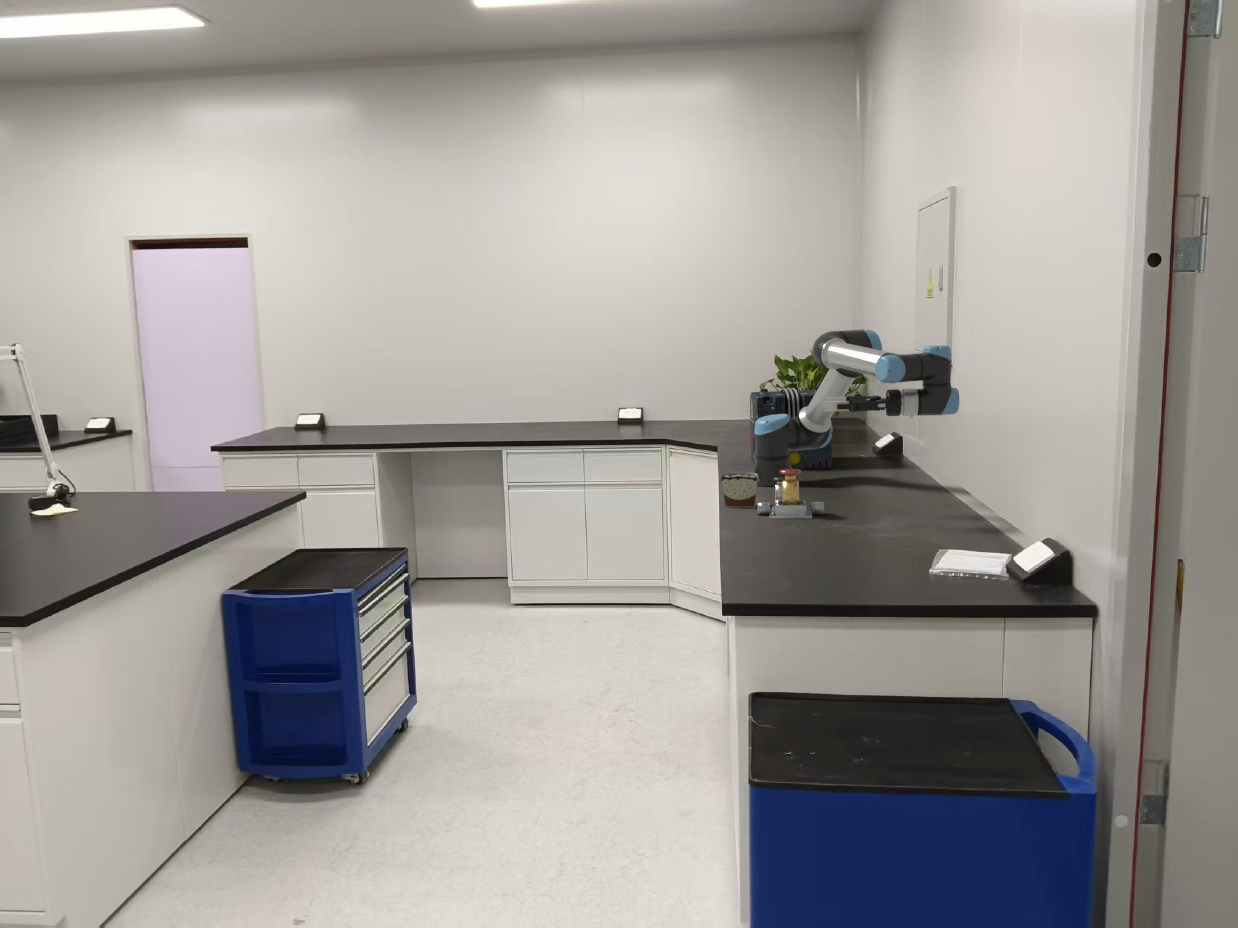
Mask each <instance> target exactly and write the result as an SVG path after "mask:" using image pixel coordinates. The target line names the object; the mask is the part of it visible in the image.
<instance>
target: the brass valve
mask: <svg viewBox="0 0 1238 928" xmlns="http://www.w3.org/2000/svg"><path fill="white" fill-rule="evenodd" d="M801 472H802V469H782V470H780V474H784V475H785V480H783V481H782V505H799V500H800V490H799V489H800V481H799V480H797V479H796V477H797V476H796V475H800V474H801Z"/></svg>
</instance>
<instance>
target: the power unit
mask: <svg viewBox="0 0 1238 928" xmlns="http://www.w3.org/2000/svg"><path fill="white" fill-rule="evenodd" d="M819 387H820V386H815V387H814V389H808V390H807V389H803V390H797V389H796V388H794V387H791V388H789V387H787V388H781V390H780V391H777V390H776V391H769V390H768V388H761V389H760V391H752V392H750V394H749V395H750V396H749V414H750V415H749V416H750V417H749V420H750V426H749V427H750V459H751V461H752V463H753V465H754V464H755V461H756V454H755V423H756V421H757V420H758V419H759V418H761V417H764V416H768V415H776V414H787V415H789V418H792V417H797V416H798V414H799V412H800V411H801V409H802V408H804V407H807V406H809V404H810V402H811V400H812V399H813V397H814V395H815V393H816V392H817V390H818V388H819ZM832 440H833V436H832V437H831V440H830V442H829V443H828V444H827V445H826V446H825V447H823V448H818V449H814V450H812V449H811V450H798V451H790V463H791V466H792V469H800V470H814V469H817V470H819V469H820V470H821V469H832V468H833V441H832Z"/></svg>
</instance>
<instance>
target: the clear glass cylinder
mask: <svg viewBox="0 0 1238 928" xmlns="http://www.w3.org/2000/svg"><path fill="white" fill-rule="evenodd" d="M774 480H775V481H777V484H776V485H775V486H774V496H775V497H774V499H775V500H782V481H783V480H785V477H774ZM775 500H774V501H775Z"/></svg>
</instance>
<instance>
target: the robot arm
mask: <svg viewBox="0 0 1238 928" xmlns="http://www.w3.org/2000/svg"><path fill="white" fill-rule="evenodd" d="M951 349H952V348H951V347H950V346H948V345H942V344H941V345H925V346H923V349H922V352H919V353H918V352H917V353H912V354H910V353H909V354H907V353H905V354H899V353H893V352H890V351H885V350H883V345H882V341H881V338H880V337H879V335H878V334H877V333H876V332H875V331H874V330H873V329H864V328H862V329H851V330H850V329H849V330H831V331H826V332H824V333H822V334H820V336H818V338H817V339H816V340H815V341H814V343H813V345H812V357H813V360H814V361H815V363H816V364H817V365H819V367H822V368H824V369H828V371H827V373H826V374H825V376H824V378H823V380H822V381H821V383H820V385H819V386H818V387H819V388H818V390H817V392H816V393H815V395H814V397H813V399H812V400H811V402H810V404H809V406H807V407H804V408H802V409H801V411H800V412H799V414H798V416H797V417H792V418H789V415H787V414H776V415H768V416H764V417H761V418H759V419H758V420H757V421H756V423H755V454H756V461H755V465H754V464H753V465H754V466H753V469H752V472H751V473H756V474H758V476H759V480H760V482H759V481H758V482H757V487H758V486H760V487H775V485H776V484H777V481H775V480H774V477H785V475H784V474H780V470H782V469H792V466H791V463H790V451H798V450H811V449H812V450H814V449H818V448H823V447H825V446H826V445H827V444H828V443H829V442H830V440H831V437H832V438H833V434H832V433H833V431H834V429H833V423H832V420H831V418H832V416H833V415H834V413H835V412H852V413H855V412H866V411H867V412H868V411H874V412H878V411H884V410H885V414H886V416H887V417H900V416H901V415H902V416H903V417H904V416H905V417H908V416H909V418H910V419H912V418H913V417H914V416H946V415H950V416H951V415H955V414H957V413H958V411H959V409H960V392H959V389H958V388H957V387H953V386H952V383H951V380H952V378H951V377H952V376H951V374H952V361H953V360H952V351H951ZM863 375H867V376H872V377H875V378H876V379H878V381H879V382H880V383H883V384H896V383H907V382H922V388H902V390H900V389H897V388H895V389H887V390H885V391H886V392H885V397H882V396H880V395H872V396H871V395H866V396H860V395H859V396H857V395H856V396H851V395H849V396H845V395H846V394H847V392H848V391H849V389H850V387H851V386H852V384H853V382H854V381H855V379H858V378H860V377H862V376H863Z"/></svg>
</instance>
